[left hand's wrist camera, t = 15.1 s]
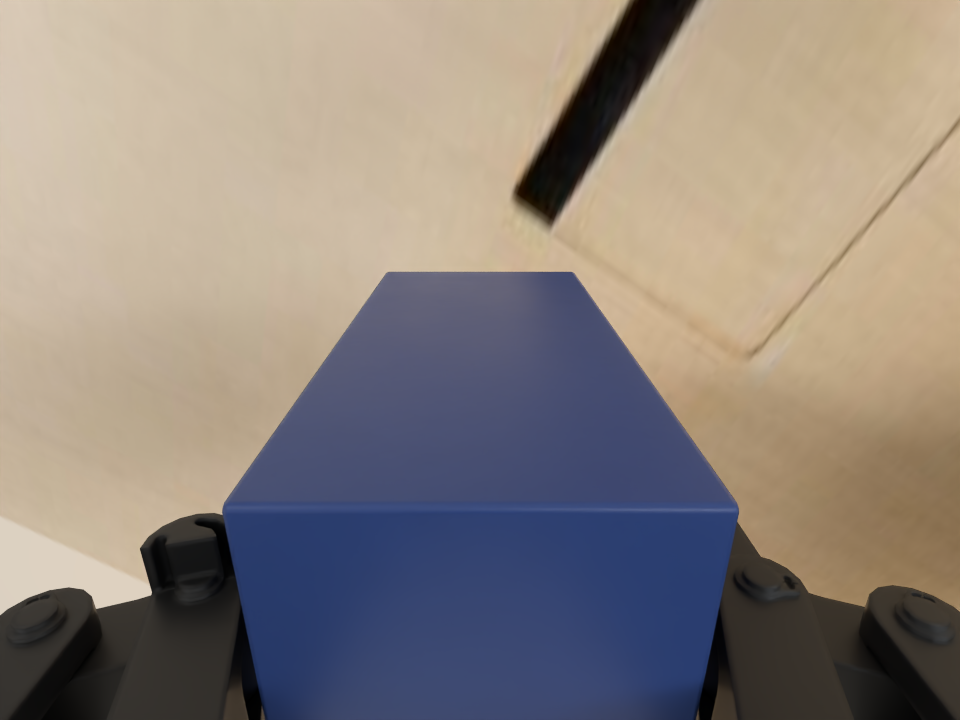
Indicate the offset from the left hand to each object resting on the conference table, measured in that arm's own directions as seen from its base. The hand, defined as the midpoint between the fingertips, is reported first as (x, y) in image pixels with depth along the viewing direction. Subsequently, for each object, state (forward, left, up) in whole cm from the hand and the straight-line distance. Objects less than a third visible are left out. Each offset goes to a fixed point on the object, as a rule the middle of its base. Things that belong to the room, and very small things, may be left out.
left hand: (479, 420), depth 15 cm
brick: (0, 0, -2) cm, 2 cm away
